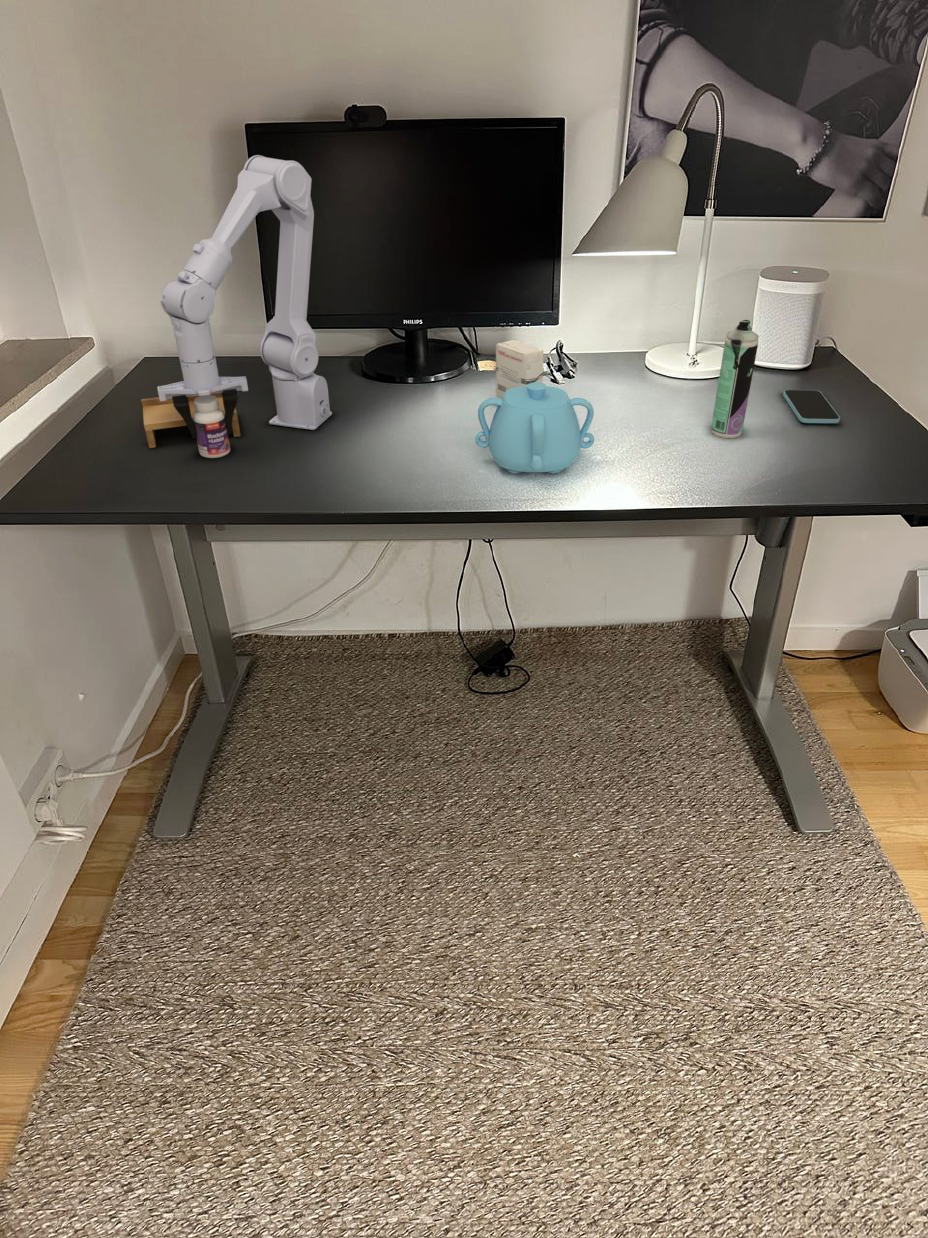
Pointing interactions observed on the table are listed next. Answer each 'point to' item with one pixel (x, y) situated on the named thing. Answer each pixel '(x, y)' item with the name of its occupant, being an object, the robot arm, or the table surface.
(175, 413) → the desk shelf
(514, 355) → the ink box
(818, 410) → the smartphone
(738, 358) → the spray can
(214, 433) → the pill bottle
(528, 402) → the decorative pot
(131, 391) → the table surface
